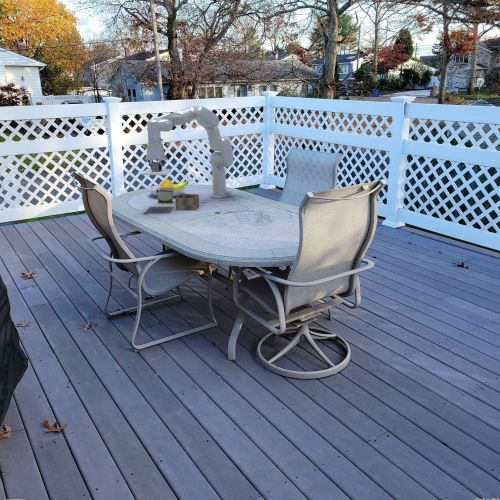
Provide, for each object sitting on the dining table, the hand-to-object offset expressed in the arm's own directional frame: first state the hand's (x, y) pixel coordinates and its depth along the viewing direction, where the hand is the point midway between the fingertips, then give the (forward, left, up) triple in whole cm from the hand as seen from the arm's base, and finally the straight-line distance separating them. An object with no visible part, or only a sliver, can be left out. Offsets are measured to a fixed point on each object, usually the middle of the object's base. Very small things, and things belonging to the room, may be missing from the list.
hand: (156, 170), depth 300 cm
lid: (0, 0, -1) cm, 1 cm away
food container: (0, -21, -26) cm, 34 cm away
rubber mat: (0, 0, -26) cm, 26 cm away
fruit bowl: (+3, -43, -26) cm, 51 cm away
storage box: (-17, -7, -26) cm, 32 cm away
